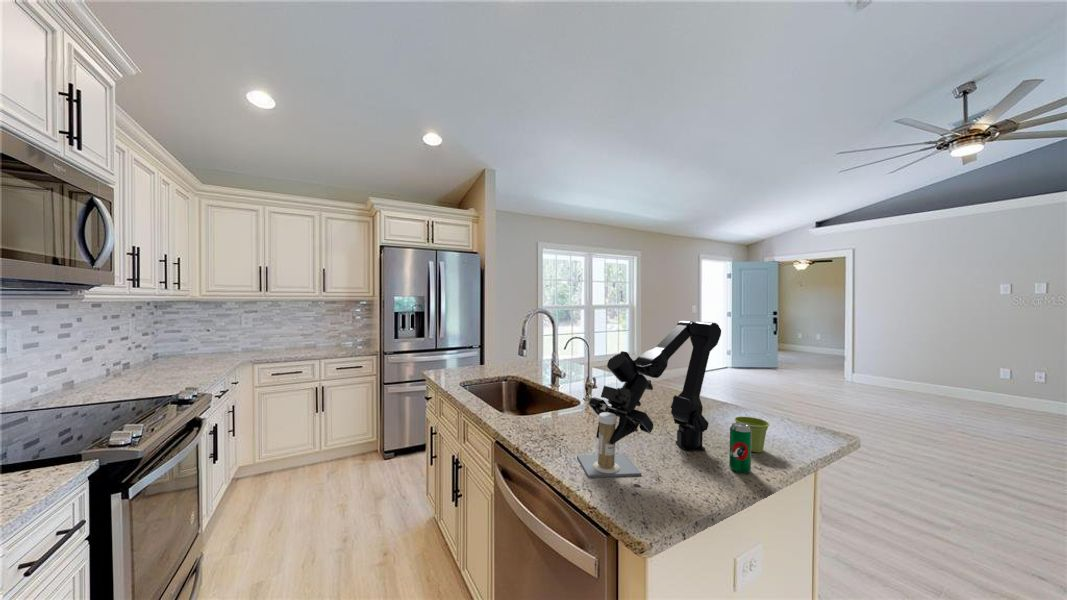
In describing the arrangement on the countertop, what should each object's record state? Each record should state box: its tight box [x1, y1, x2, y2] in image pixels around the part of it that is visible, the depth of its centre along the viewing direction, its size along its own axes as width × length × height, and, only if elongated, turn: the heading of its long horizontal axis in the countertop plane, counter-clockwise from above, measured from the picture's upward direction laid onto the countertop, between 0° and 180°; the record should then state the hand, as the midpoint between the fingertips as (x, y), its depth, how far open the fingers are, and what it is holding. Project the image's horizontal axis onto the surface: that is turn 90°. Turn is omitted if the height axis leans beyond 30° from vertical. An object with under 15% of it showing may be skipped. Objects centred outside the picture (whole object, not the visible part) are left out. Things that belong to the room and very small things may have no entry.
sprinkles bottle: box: [597, 412, 618, 468], centre depth 98 cm, size 5×5×14 cm
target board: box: [576, 453, 642, 478], centre depth 100 cm, size 14×12×1 cm
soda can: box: [728, 422, 752, 474], centre depth 99 cm, size 5×5×12 cm
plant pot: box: [733, 415, 770, 453], centre depth 114 cm, size 9×9×9 cm
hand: (603, 440), depth 97 cm, fingers closed on sprinkles bottle, 4 cm apart
